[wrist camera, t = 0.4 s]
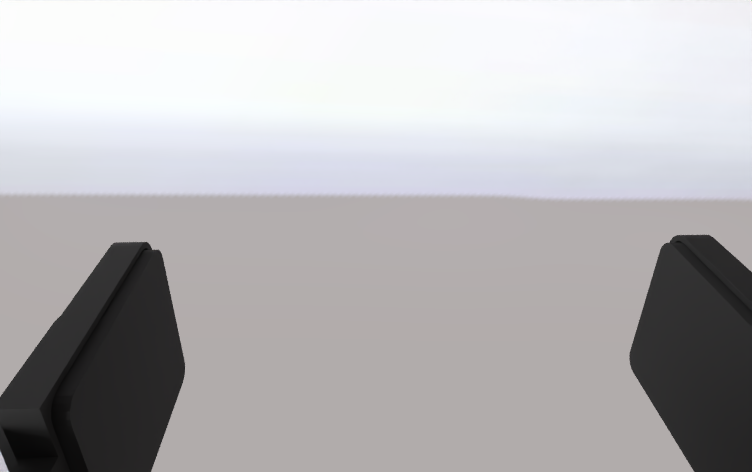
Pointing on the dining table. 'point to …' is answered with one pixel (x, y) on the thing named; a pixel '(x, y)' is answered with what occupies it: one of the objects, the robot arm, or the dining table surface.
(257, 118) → the dining table surface
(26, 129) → the dining table surface
